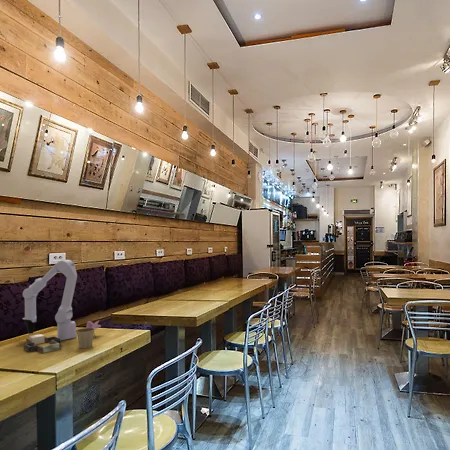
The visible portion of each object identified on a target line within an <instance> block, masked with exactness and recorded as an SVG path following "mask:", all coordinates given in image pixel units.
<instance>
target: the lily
mask: <svg viewBox="0 0 450 450" xmlns="http://www.w3.org/2000/svg"><path fill="white" fill-rule="evenodd" d="M99 322H100V320H97V321H96V322H94V323H93V322H92V321H90V320H88V321H87V322H86V328H95V330H97V329H99V328H101V327H102V325H101V324H99ZM93 336H94V337H95V339H97V336H96V333H94V334H93Z"/></svg>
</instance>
